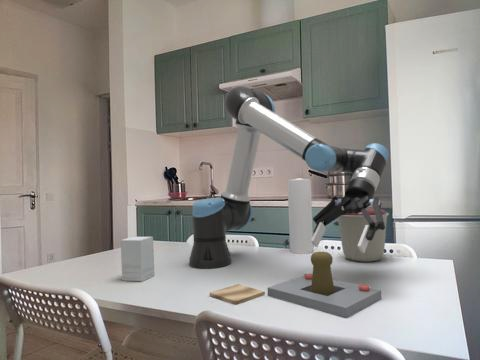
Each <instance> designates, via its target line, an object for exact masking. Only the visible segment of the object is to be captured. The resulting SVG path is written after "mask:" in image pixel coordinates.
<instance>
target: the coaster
mask: <svg viewBox="0 0 480 360" xmlns="http://www.w3.org/2000/svg"><path fill="white" fill-rule="evenodd" d="M265 292H266V291H264V290H262V289H257V288H254V287H250V286H246V285H243V284H240V283H238V284H234V285H231V286H228V287H224V288H221V289H218V290H214V291H211V292H209V296H210V297H211V298H215V299H218V300H222V301H223V302H227V303H229V304H233V305H235V306H236V305H239V304H242V303H246V302H247V301H250V300H253V299H256V298H259V297H263V296H265V295H266V293H265Z"/></svg>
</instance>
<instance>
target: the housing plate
mask: <svg viewBox="0 0 480 360" xmlns="http://www.w3.org/2000/svg"><path fill="white" fill-rule="evenodd" d="M312 274H313V273H305V274H304V275H302V276H301V275H300V276H298V277H295V278H291V279H289V280H286V281H284V282H280V283H278V284H274V285H271V286H267V289H266V290H267V296H269V297H272V298H276V299H279V300H283V301H285V302H286V301H287V302H289V303H292V304H297V305H300V306H303V307H307V308H311V309H314V310H318V311H321V312H325V313H328V314H333V315H335V316H339V317H343V318H346V319H347V318H349V317H350V316H352V315H354V314H356V313H358V312H359V311H361V310H363V309H365V308H367V307H369V306H371V305H373V304H374V303H377V302H378V301H380V300H382V290H381V289H378V288H373V287H370V285H368V284H363V283H362V284H359V285H357V284H353V283H347V282H344V281H338V280H333V285H334V291H335V293H334V294H331V295H329V296H325V295H321V294H317V293H312V292H311V285H312Z"/></svg>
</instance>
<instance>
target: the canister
mask: <svg viewBox="0 0 480 360" xmlns="http://www.w3.org/2000/svg"><path fill="white" fill-rule="evenodd" d="M366 211H367V212H368V214H369V215H370V217H371V219H372V220H373V222H374V223H375V222H377V220H376V216H375V212H374V208H372V207H367V208H366ZM381 213H382V217H383V221H384V225H385V229H384V230H381V229H378V230H377V231H376V232H375V234H374V237H373V239H372V240H369V242H368V245H367V247H366V250H365V253H362V252H361V251H360V249H359V248H358V243H359V241H360V238H361V236H362V233H363V231H364V228H365V225H369V223H368V222H367V220H366V218H365V217H364V215H363V214H362V212H360V213H358V214H355V213H351V214H349V213H347V214H345V215H341V216H340V217H338V218H337V220H338V221H337V222H338V230H339V235H340V241H341V247H342V253H343V255H344V257H345V258H346V259H348V260H350V261H355V262H362V263H363V262H365V263H366V262H367V263H369V262H371V263H372V262H377V261H379V260H381V259H382V258H383V256H384V254H385V245H386V237H387V236H386V234H387V219H388V216H389V215H390V214H389V212H386V211H385V210H384V209H381ZM369 226H370V225H369Z"/></svg>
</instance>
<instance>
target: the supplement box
mask: <svg viewBox="0 0 480 360" xmlns="http://www.w3.org/2000/svg"><path fill="white" fill-rule="evenodd" d="M154 251H155V250H154V237H153V236H131V237H127V238H123V239H120V255H121V257H120V258H121V261H120V262H121V280H122V281H123V282H124V281H127V282H128V281H130V282H144V281H146V280H149V279H151V278H153V277H155V253H154Z"/></svg>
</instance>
